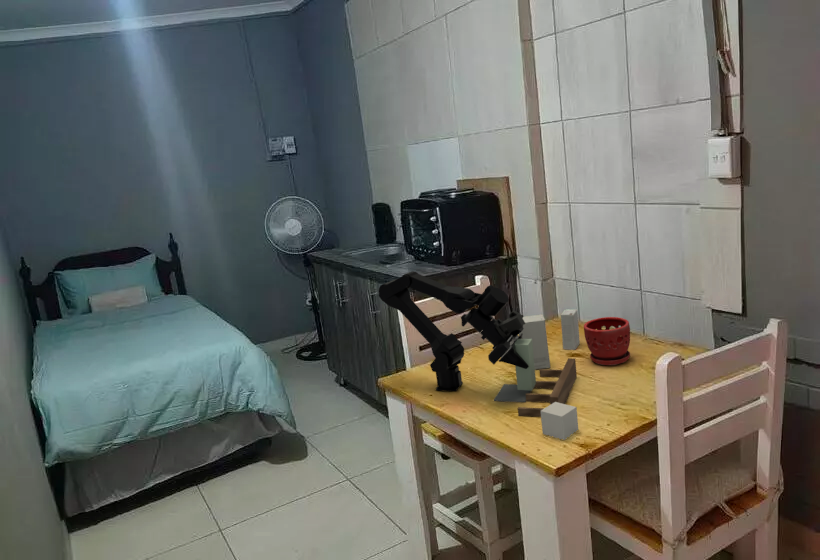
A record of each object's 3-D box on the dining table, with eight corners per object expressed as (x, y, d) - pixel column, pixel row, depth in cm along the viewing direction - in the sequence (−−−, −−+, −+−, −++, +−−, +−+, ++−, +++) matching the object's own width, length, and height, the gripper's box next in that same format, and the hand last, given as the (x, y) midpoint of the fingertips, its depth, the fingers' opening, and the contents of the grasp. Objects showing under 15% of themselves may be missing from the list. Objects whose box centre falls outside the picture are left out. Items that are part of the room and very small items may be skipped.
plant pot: (603, 350, 196) (600, 314, 194) (640, 357, 186) (638, 319, 183) (577, 363, 189) (574, 325, 186) (615, 371, 178) (612, 332, 176)
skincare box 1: (548, 361, 193) (543, 313, 190) (551, 368, 187) (546, 319, 184) (521, 363, 194) (516, 316, 191) (523, 371, 188) (517, 322, 185)
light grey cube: (557, 424, 151) (555, 401, 150) (578, 430, 147) (576, 407, 146) (542, 434, 148) (540, 410, 146) (564, 440, 143) (561, 416, 142)
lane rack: (518, 415, 159) (516, 395, 158) (540, 375, 183) (538, 358, 182) (559, 417, 154) (557, 397, 153) (576, 376, 178) (575, 358, 177)
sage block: (517, 389, 169) (513, 344, 167) (521, 382, 174) (517, 338, 171) (532, 390, 168) (527, 345, 165) (536, 383, 172) (532, 338, 169)
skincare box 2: (567, 343, 207) (564, 308, 205) (580, 343, 205) (577, 308, 202) (562, 349, 202) (559, 314, 199) (576, 350, 200) (573, 314, 197)
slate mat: (493, 401, 170) (493, 399, 170) (504, 385, 179) (504, 384, 179) (525, 402, 166) (525, 401, 166) (534, 386, 176) (534, 385, 176)
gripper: (495, 315, 159) (541, 357, 157) (513, 296, 176) (555, 333, 174) (469, 344, 164) (514, 384, 162) (489, 322, 181) (530, 359, 178)
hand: (529, 364), depth 169 cm, fingers closed on sage block, 5 cm apart
